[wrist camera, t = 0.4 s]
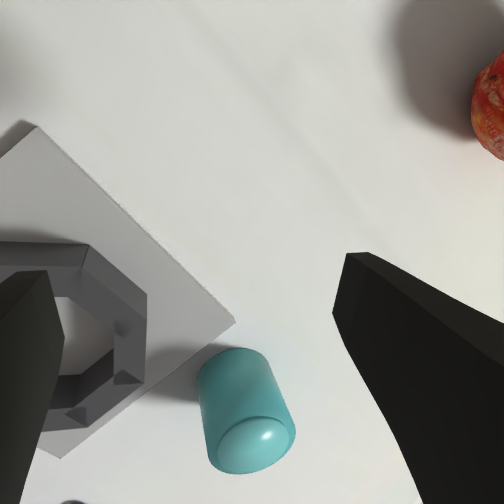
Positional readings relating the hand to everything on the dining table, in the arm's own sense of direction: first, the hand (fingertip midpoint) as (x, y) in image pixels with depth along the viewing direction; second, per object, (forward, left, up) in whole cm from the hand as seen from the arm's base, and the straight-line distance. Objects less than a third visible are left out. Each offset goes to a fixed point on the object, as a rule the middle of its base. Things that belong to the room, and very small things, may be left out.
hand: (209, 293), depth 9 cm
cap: (-6, -12, -11) cm, 17 cm away
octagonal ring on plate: (-10, -1, -10) cm, 14 cm away
